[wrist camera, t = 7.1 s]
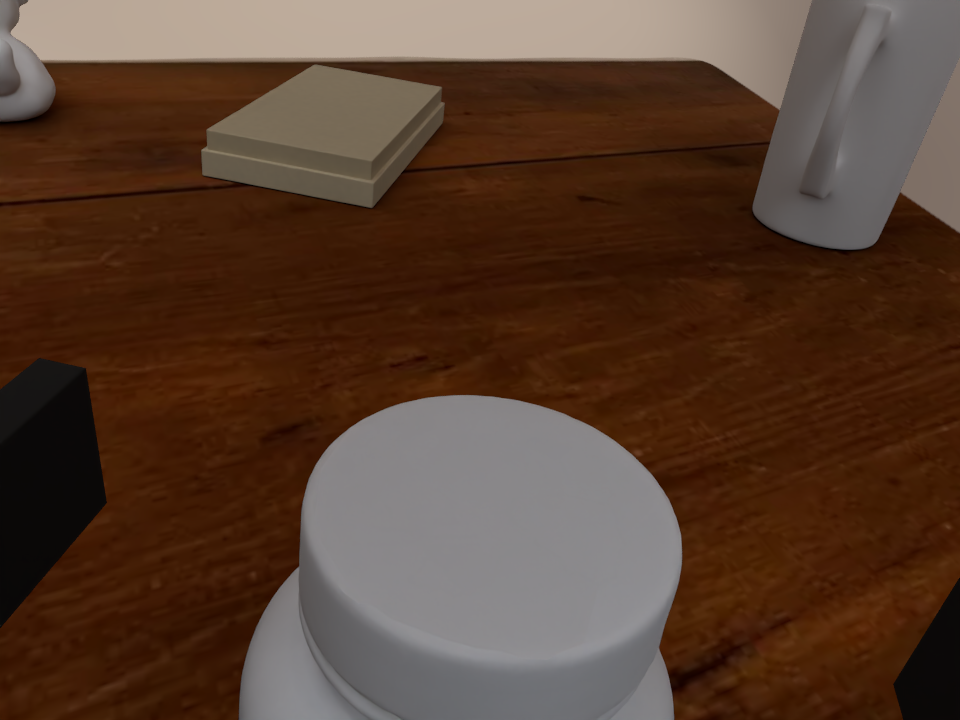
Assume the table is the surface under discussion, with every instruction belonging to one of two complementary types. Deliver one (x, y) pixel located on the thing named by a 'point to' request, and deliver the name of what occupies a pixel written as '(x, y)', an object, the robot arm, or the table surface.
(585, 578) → the pill bottle
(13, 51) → the figurine
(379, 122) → the beige stepped flat slab
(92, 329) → the table surface
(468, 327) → the table surface
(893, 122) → the mug
